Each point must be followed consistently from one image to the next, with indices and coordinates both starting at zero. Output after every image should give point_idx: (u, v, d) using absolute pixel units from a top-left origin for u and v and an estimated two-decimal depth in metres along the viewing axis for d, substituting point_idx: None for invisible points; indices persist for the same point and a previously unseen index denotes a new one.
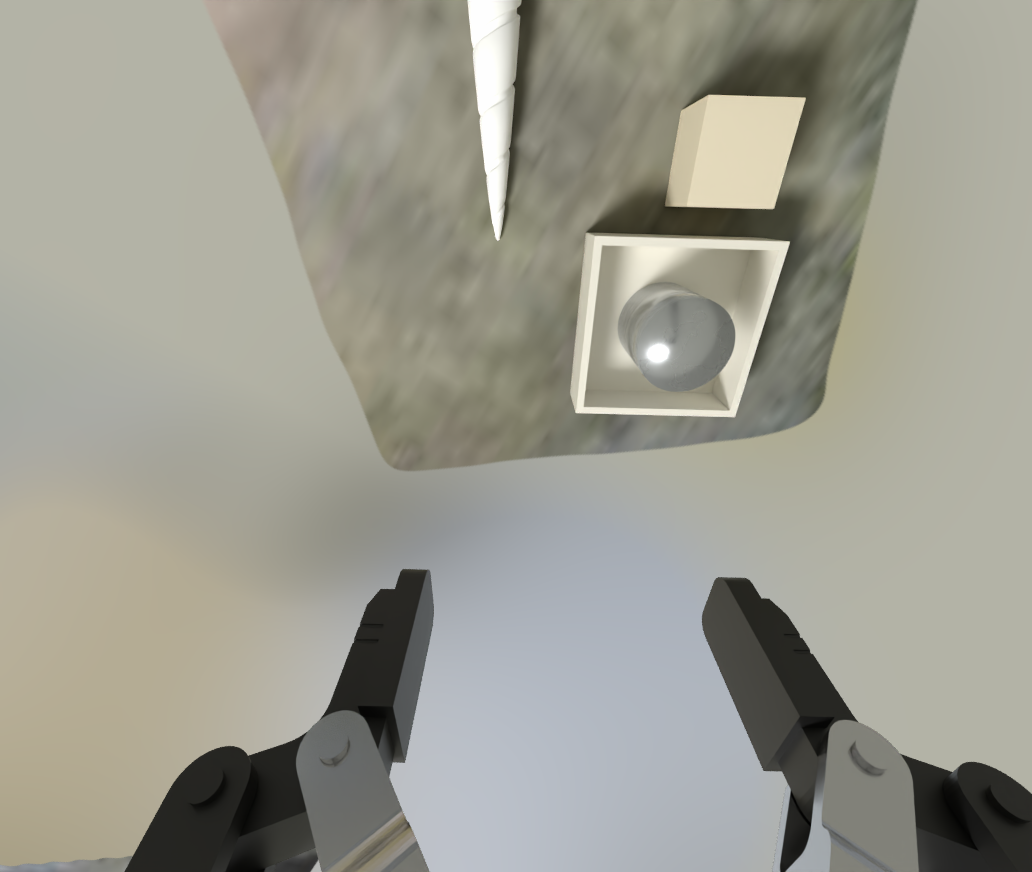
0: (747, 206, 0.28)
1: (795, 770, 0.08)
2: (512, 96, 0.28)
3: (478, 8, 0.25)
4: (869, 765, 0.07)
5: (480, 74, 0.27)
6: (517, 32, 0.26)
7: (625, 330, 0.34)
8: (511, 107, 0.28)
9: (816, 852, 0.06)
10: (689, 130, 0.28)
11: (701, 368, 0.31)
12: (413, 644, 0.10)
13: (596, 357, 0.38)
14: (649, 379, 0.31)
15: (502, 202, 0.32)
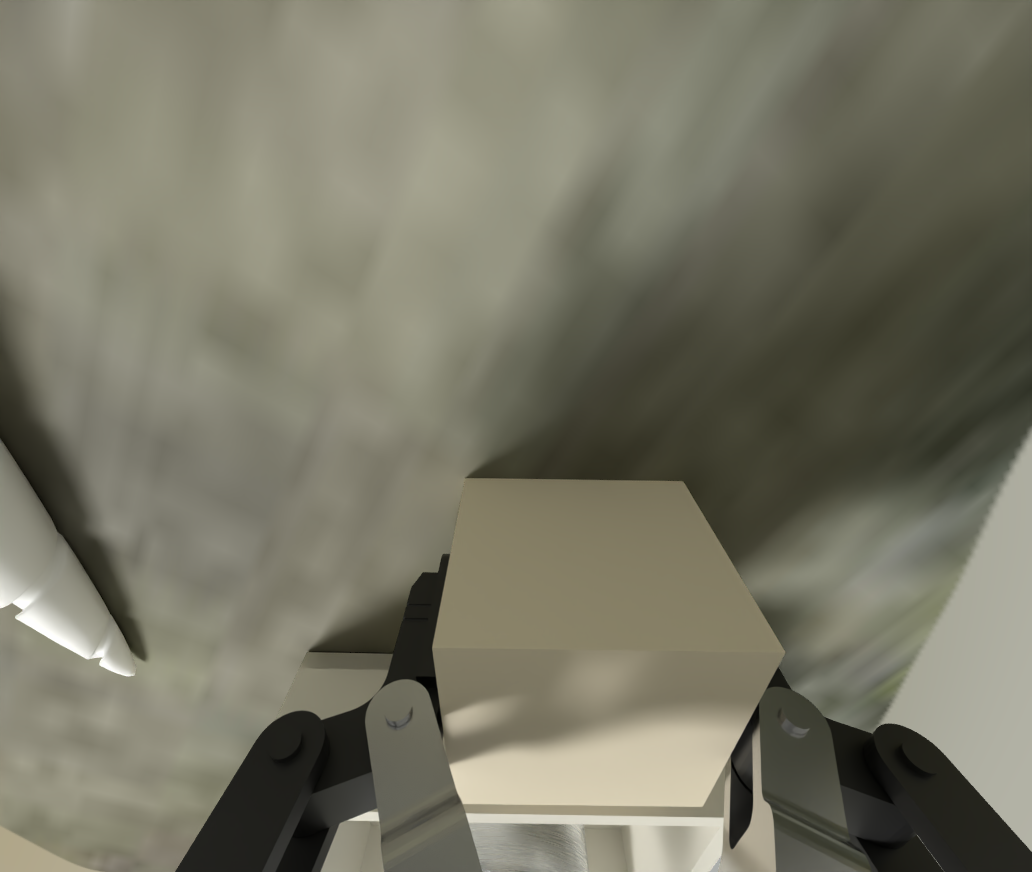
0: (626, 803, 0.10)
1: None
2: None
3: None
4: (795, 727, 0.08)
5: None
6: None
7: None
8: None
9: (761, 826, 0.07)
10: None
11: None
12: None
13: None
14: None
15: (89, 647, 0.13)
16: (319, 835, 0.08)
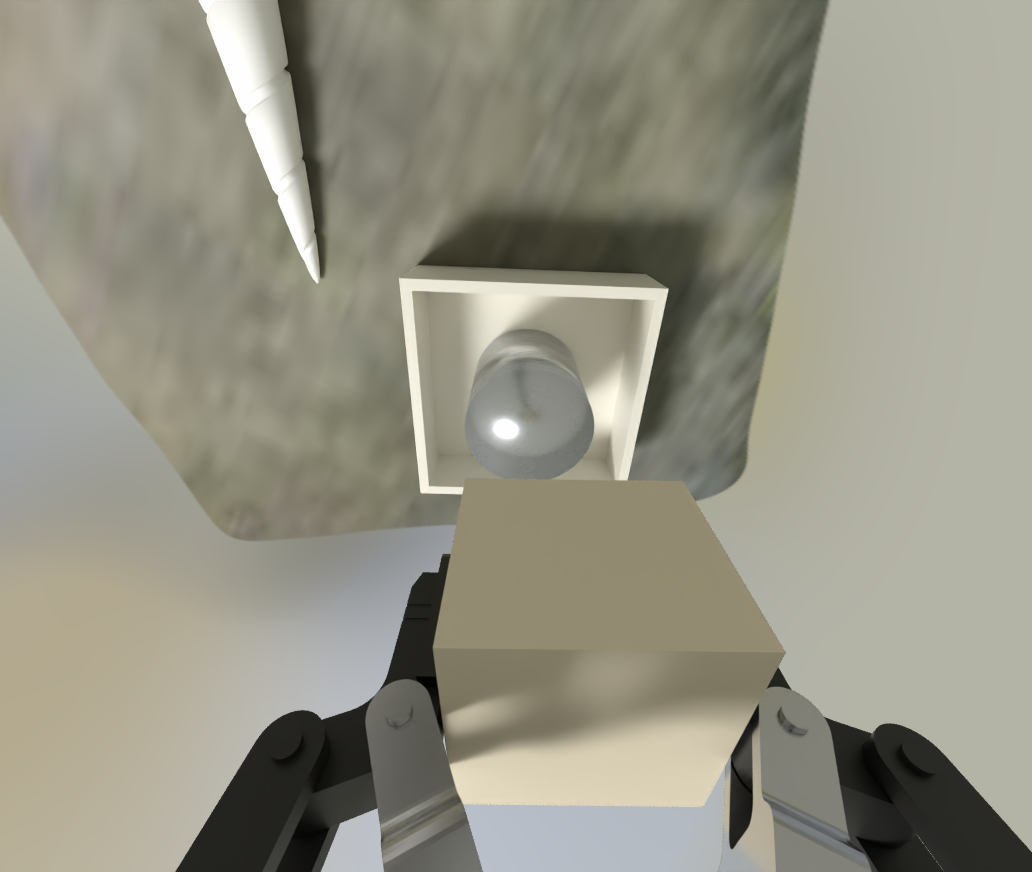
0: (626, 803, 0.10)
1: None
2: (283, 91, 0.20)
3: None
4: (795, 727, 0.08)
5: (225, 61, 0.19)
6: None
7: None
8: (286, 107, 0.20)
9: (760, 826, 0.07)
10: None
11: (554, 455, 0.23)
12: None
13: (454, 418, 0.30)
14: (488, 467, 0.24)
15: (307, 236, 0.24)
16: (319, 835, 0.08)
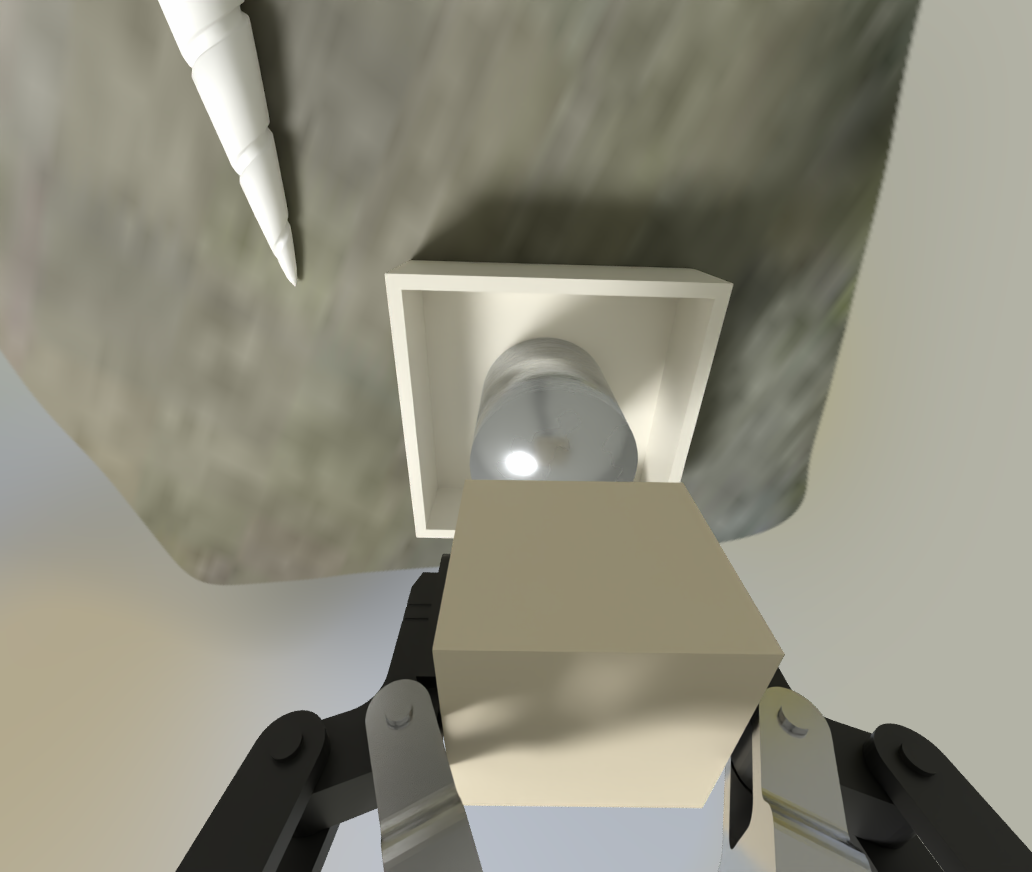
0: (626, 804, 0.10)
1: None
2: (239, 36, 0.15)
3: None
4: (795, 727, 0.08)
5: None
6: None
7: None
8: (243, 57, 0.16)
9: (760, 826, 0.07)
10: None
11: None
12: None
13: (457, 445, 0.25)
14: None
15: (278, 226, 0.19)
16: (319, 835, 0.08)
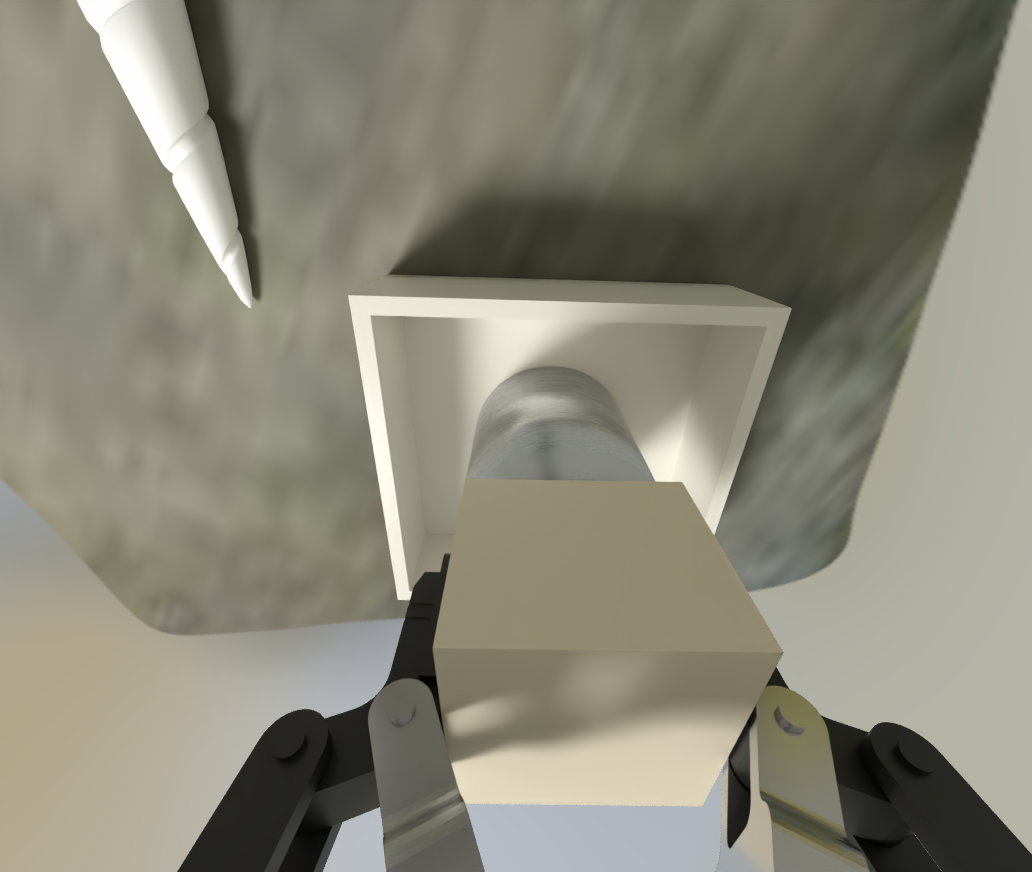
0: (625, 802, 0.10)
1: None
2: None
3: None
4: (792, 726, 0.08)
5: None
6: None
7: None
8: (167, 23, 0.12)
9: (758, 825, 0.07)
10: None
11: None
12: None
13: (447, 487, 0.21)
14: None
15: (225, 237, 0.15)
16: (322, 834, 0.08)
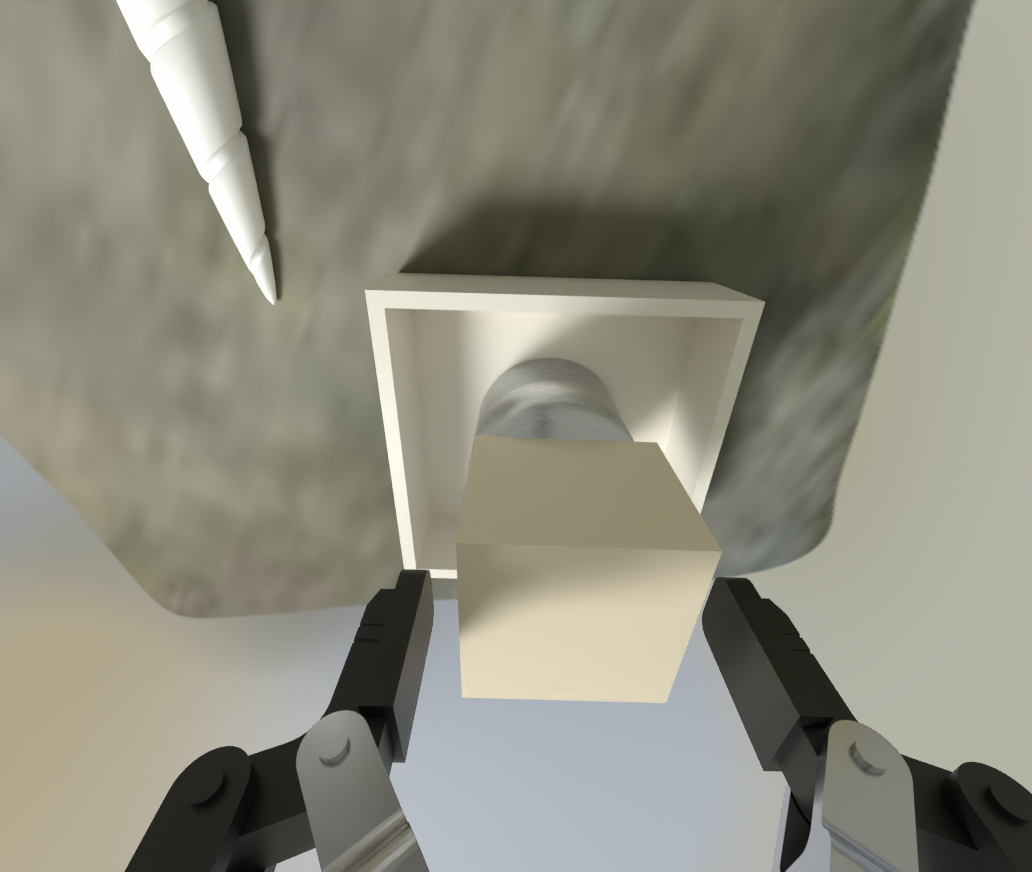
0: (603, 698, 0.12)
1: (795, 770, 0.08)
2: (204, 27, 0.14)
3: None
4: (869, 765, 0.07)
5: None
6: None
7: None
8: (209, 51, 0.14)
9: (816, 852, 0.06)
10: None
11: None
12: (413, 644, 0.10)
13: (451, 473, 0.23)
14: None
15: (253, 240, 0.17)
16: None
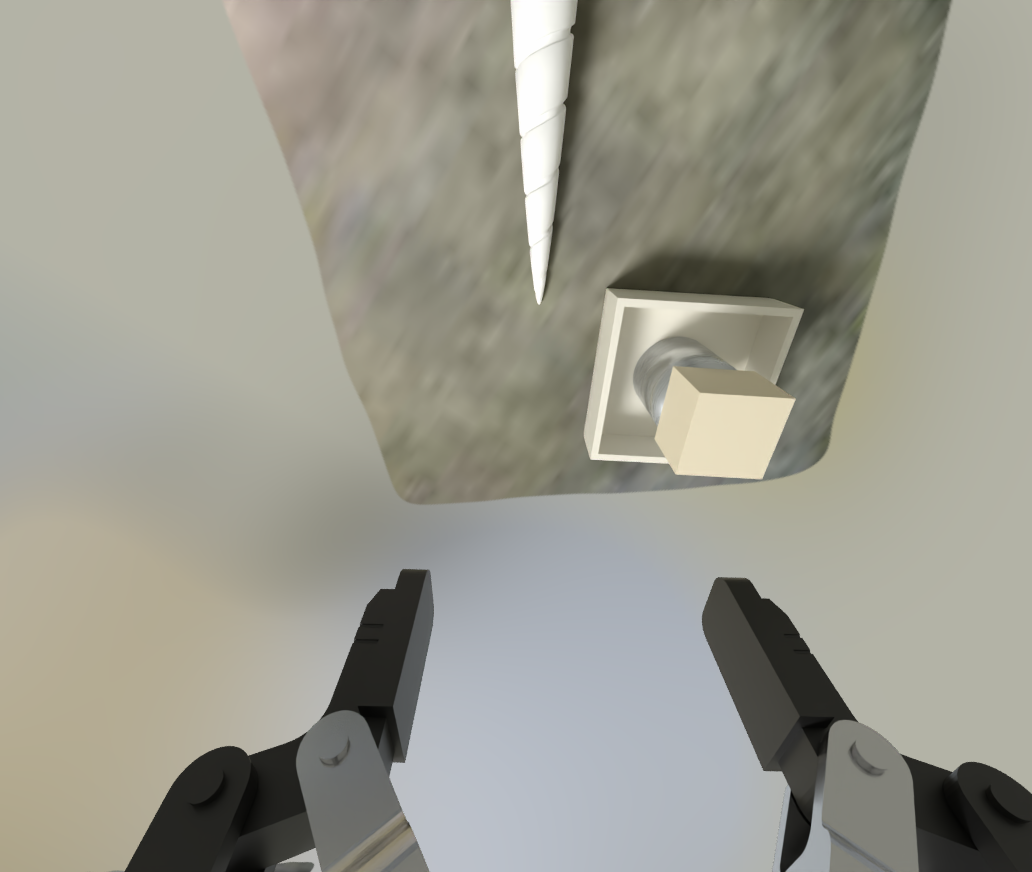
0: (735, 476, 0.28)
1: (795, 770, 0.08)
2: (557, 177, 0.30)
3: (528, 104, 0.27)
4: (869, 765, 0.07)
5: (528, 160, 0.28)
6: (563, 122, 0.28)
7: (642, 383, 0.35)
8: (556, 187, 0.30)
9: (816, 852, 0.06)
10: (680, 399, 0.28)
11: None
12: (413, 644, 0.10)
13: (611, 404, 0.39)
14: None
15: (544, 271, 0.33)
16: None
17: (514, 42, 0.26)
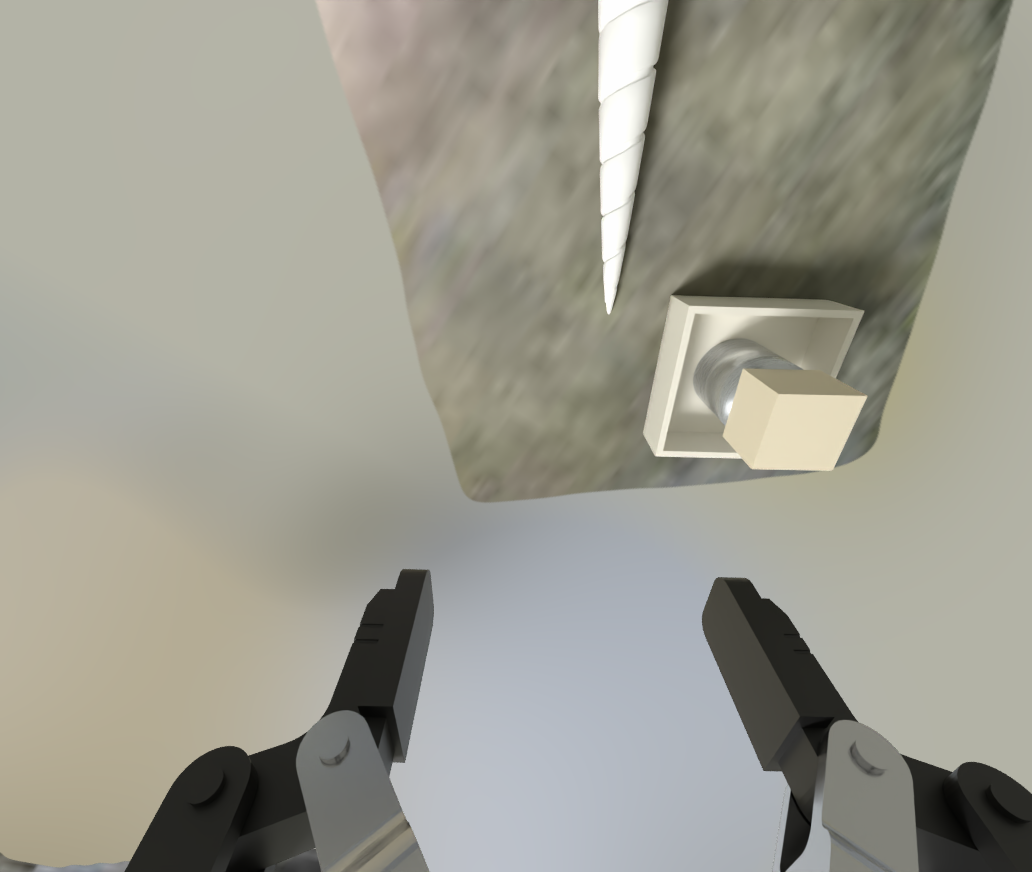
0: (808, 468, 0.31)
1: (795, 770, 0.08)
2: (633, 198, 0.32)
3: (612, 134, 0.29)
4: (869, 765, 0.07)
5: (608, 184, 0.31)
6: (642, 148, 0.30)
7: (706, 383, 0.37)
8: (632, 207, 0.32)
9: (816, 852, 0.06)
10: (754, 400, 0.30)
11: None
12: (413, 644, 0.10)
13: None
14: None
15: (616, 284, 0.35)
16: None
17: (601, 79, 0.28)
